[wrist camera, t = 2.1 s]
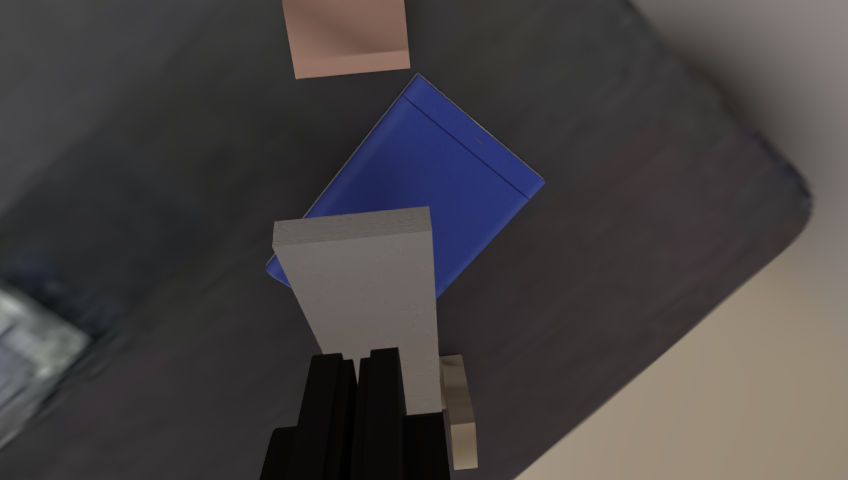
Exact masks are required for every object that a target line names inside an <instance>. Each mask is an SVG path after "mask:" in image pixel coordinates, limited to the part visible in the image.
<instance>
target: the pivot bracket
mask: <svg viewBox="0 0 848 480" xmlns="http://www.w3.org/2000/svg"><path fill="white" fill-rule="evenodd" d="M439 372H440V391H441V409H446V412H447V420H448V427H449V434H450V442H451V449H452V456H453V463H454V470H459V469H469V468H478V463H477V446H476V429H475V419H474V414H473V409H472V404H471V399H470V394H469V389H468V384H467V379H466V374H465V369H464V364H463V359H462V354H460V355H451V356H441V357H439Z"/></svg>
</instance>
